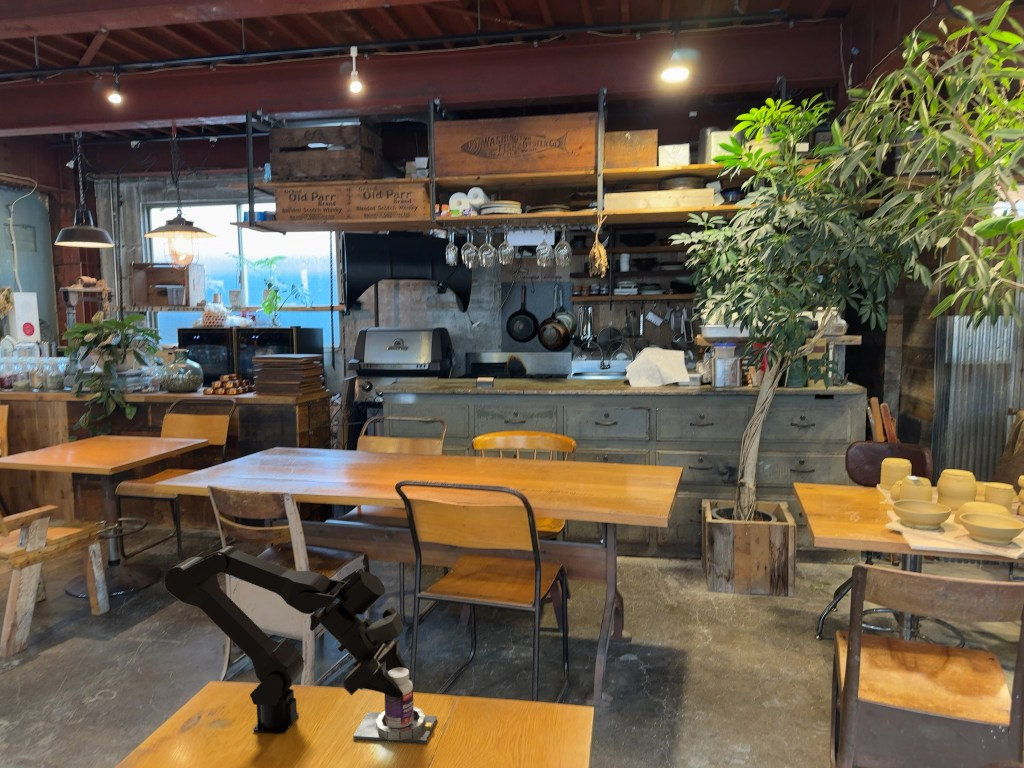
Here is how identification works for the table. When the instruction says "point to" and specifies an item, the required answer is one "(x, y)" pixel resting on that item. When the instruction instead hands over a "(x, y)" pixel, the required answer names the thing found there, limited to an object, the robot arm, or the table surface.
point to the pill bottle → (400, 700)
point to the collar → (402, 733)
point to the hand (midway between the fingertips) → (405, 688)
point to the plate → (370, 733)
